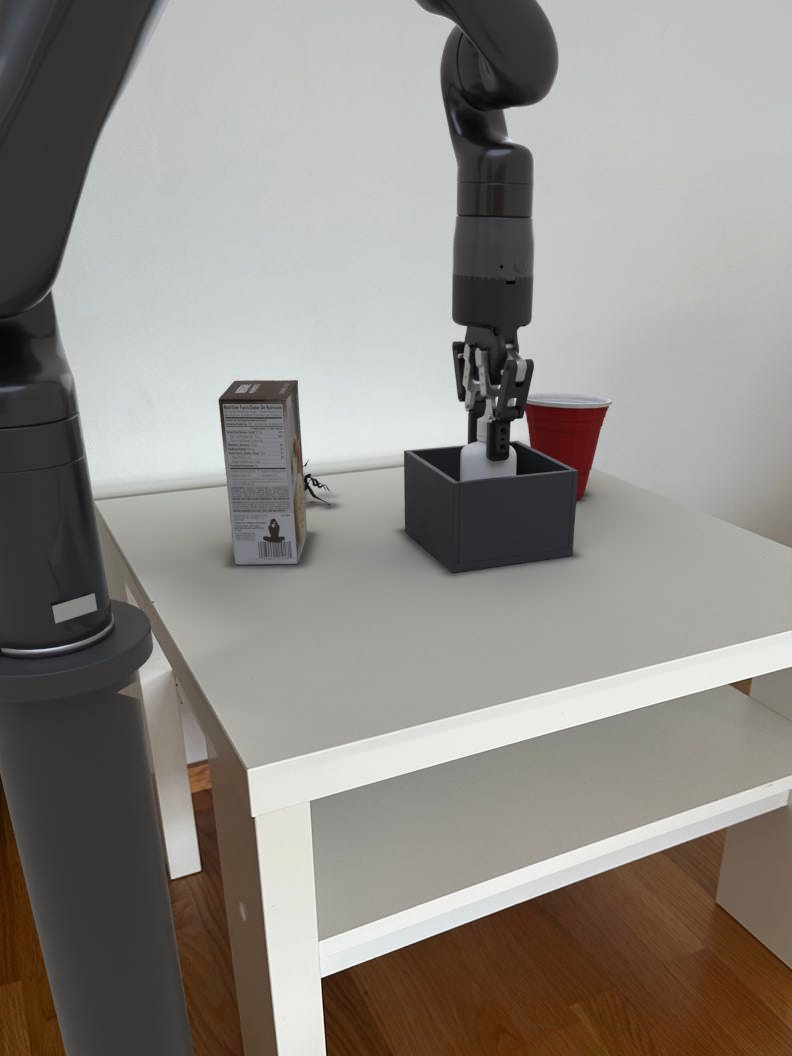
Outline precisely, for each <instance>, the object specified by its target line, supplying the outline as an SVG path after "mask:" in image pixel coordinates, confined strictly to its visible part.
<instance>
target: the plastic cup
mask: <svg viewBox="0 0 792 1056" xmlns="http://www.w3.org/2000/svg"><path fill="white" fill-rule="evenodd" d="M611 405H613V400H612V399H611V398H607V397H602V396H597V395H589V394H580V393H579V394H577V393H557V392H555V393H554V392H543V393H542V392H540V393H538V392H536V393H528V398H527V403H526V407H525V412H524V414H525V416H526V417H525V418H526V423H527V428H528V429H527V431H528V437H529V438H528V439H529V447H531V448H533V449H535V450H537V451H539V452H541V453H543V454H545V455H547V456H549V457H551V458H553V459H555V460H557V461H559V462H561V463H563V464H565V465H567V466H569V467H571V468H573V469H575V470H577V471H578V483H577V497H576V501H577V500H581V499H582V498H583V497H584V494H585V492H586V490H587V486H588V481H589V477H590V472H591V470H592V467H593V463H594V459H595V455H596V452H597V451H596V450H597V447H598V442H599V438H600V434H601V430H602V427H603V425H604V421H605V418H606V416H607V412H608V410H609V409H610V406H611Z"/></svg>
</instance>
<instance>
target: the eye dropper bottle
mask: <svg viewBox="0 0 792 1056" xmlns="http://www.w3.org/2000/svg"><path fill="white" fill-rule="evenodd" d="M487 422H488V419H487V407H486V409H485V414H484V416H483V417H481V418H478V420H477V440H478V441H477V442H473V443H470V444H468V443H467V444H465V445H466V446H465V447H463V449H462V450H461V459H460V481H468V480H477V479H487V478H497V477H507V476H516V463H517V457H516V452H515V450H514V448H513V447H512V446H510V451H509V458H508V459H507V460H503V461H490V460H489V459H487V457H486V439H487Z"/></svg>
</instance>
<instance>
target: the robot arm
mask: <svg viewBox="0 0 792 1056" xmlns="http://www.w3.org/2000/svg"><path fill="white" fill-rule="evenodd" d="M413 1H414V2H415V4H416V5H417V6H418V7H419V9H421V10H422V11H423V12H425V13H427V14H429V15H433V16H436V17H439V18H442V19H443V18H444V19H446V20H449V21H451V22H452V23H454V24H455V25H454V26H453V27H452V28H451V30H450V31H449V33H448V35H447V37H446V38H445V41H444V44H443V48H442V51H441V56H440V63H439V84H440V92H441V98H442V104H443V108H444V112H445V119H446V123H447V128H448V134H449V140H450V143H451V146H452V147H451V148H452V150H453V155H454V159H455V165H456V178H455V179H456V180H455V183H456V184H455V215H456V216H455V224H454V230H453V239H452V269H451V271H452V273H451V274H452V275H451V277H452V283H451V284H452V285H451V286H452V287H451V288H452V289H451V319H452V322H454V323H455V324H456V325H459V326H463V327H466V330H465V335H464V340H454V341H453V342H452V343H451V350H452V359H453V369H454V378H455V383H456V384H455V386H456V393H457V394H456V395H457V400H458V401H459V402H460V403H464V410H465V411H466V412H467V445H468V444H470V443H473V442H477V441H478V440H477V420H478V418H481V417H483V416H484V414H485V409H486V407H487V419H488V422H487V439H486V457H487V459H489V460H490V461H503V460H507V459H508V458H509V451H510V441H511V423H512V422H515V420H522V419H523V418H524V417H525V407H526V403H527V398H528V394H530V389H531V383H532V379H533V374H534V369H535V362H534V360H533V358H522V356H521V355H520V345H519V338H518V330H519V329H520V328H521V327H522V328H523V327H527V326H529V325H530V324H531V323H532V319H533V299H534V279H535V257H536V256H535V253H536V242H535V228H534V227H535V226H534V215H535V214H534V213H535V211H534V210H535V189H536V185H535V184H536V160H535V156H534V153H533V151H532V150H531V148H530V147H528V146H527V145H525V144H522V143H520V142H517V141H514V140H512V139H511V135H510V132H509V129H508V124H507V119H506V113H505V112H506V111H505V110H513V109H514V110H515V109H526V108H530V107H533V106H536V105H538V104H539V103H541V102H543V101H545V100H546V98H547V97H548V96H549V95H550V93H552V91H553V89H554V87H555V84H556V81H557V79H558V76H559V66H560V54H559V47H558V42H557V38H556V34H555V31H554V29H553V26H552V24H551V22H550V20H549V18H548V16H547V14H546V12H545V10H544V9H543V7H542V6H541V5H540V3H539V2H538V1H537V0H413ZM169 2H170V0H0V657H9V658H16V659H41V658H51V657H57V656H63V655H67V654H71V653H75V652H78V651H81V650H84V649H87V648H90V647H92V646H94V645H96V644H98V643H100V642H102V641H103V640H105V639H106V638H107V637H108V636H110V635H111V633H112V632H113V631H114V628H115V622H114V616H113V613H112V612H111V601H110V599H111V598H110V594H109V588H108V587H109V586H108V581H107V575H106V574H107V573H106V568H105V561H104V556H103V555H104V554H103V550H102V543H101V537H100V531H99V524H98V518H97V513H96V506H95V499H94V494H93V488H92V482H91V475H90V469H89V462H88V457H87V450H86V444H85V438H84V437H85V436H84V431H83V424H82V419H81V413H80V404H79V400H78V399H79V398H78V393H77V386H76V382H75V377H74V374H73V372H72V369H71V366H70V364H69V361H68V358H67V355H66V352H65V347H64V345H63V341H62V337H61V331H60V327H59V322H58V321H59V320H58V316H57V311H56V305H55V299H54V293H53V287H54V285H55V283H56V282H57V279H58V277H59V275H60V272H61V268H62V266H63V265H62V264H63V262H64V258H65V254H66V251H67V246H68V244H69V243H68V242H69V239H70V236H71V232H72V228H73V225H74V221H75V218H76V214H77V211H78V207H79V204H80V201H81V199H82V193H83V190H84V187H85V185H86V182H87V178H88V174H89V171H90V168H91V165H92V162H93V160H94V157H95V153H96V151H97V148H98V145H99V143H100V140H101V137H102V136H103V133H104V131H105V129H106V126H107V124H108V122H109V121H110V119H111V116H112V115H113V113H114V111H115V109H116V107H117V105H118V104H119V102H120V100H121V99H122V97H123V95H124V93H125V91H126V89H127V87H128V86H129V84H130V82H131V81H132V79H133V76H134V74H135V72H136V70H137V68H138V66H139V64H140V62H141V60H142V58H143V56H144V54H145V52H146V49H147V47H148V46H149V43H150V42H151V39H152V37H153V35H154V33H155V31H156V29H157V27H158V25H159V23H160V21H161V18H162V17H163V14H164V12H165V11H166V8H167V6H168V5H169ZM496 399H497V400H496Z"/></svg>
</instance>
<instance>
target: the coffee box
mask: <svg viewBox="0 0 792 1056" xmlns="http://www.w3.org/2000/svg"><path fill="white" fill-rule="evenodd" d="M218 409H219V410H218V411H219V420H220V428H221V429H220V430H221V438H222V449H223V459H224V467H225V479H226V489H227V500H228V509H229V518H230V519H229V521H230V527H231V528H230V529H231V539H232V549H233V557H234V558H233V559H234V564H235V565H239V566H241V565H243V566H244V565H245V566H246V565H247V566H249V565H250V566H251V565H252V566H253V565H298V564H299V563H300V559H301V556H302V553H303V549H304V546H305V543H306V540H307V536H308V523H307V508H306V507H307V506H306V505H307V504H305V503H306V493H305V492H306V491H305V490H304V476H305V473H304V467H303V466H304V464H303V463H304V461H303V446H302V431H301V415H300V399H299V380H298V379H290V380H288V379H287V380H286V379H283V380H276V379H275V380H271V379H267V380H266V379H265V380H263V379H262V380H261V379H260V380H259V379H255V380H244V379H243V380H233V382H232V383H231V384H230V385H229V386H228V387H227V389H226V390H225V391H224V392H223V393H222V394H221V395H220V396H219V397H218Z"/></svg>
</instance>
